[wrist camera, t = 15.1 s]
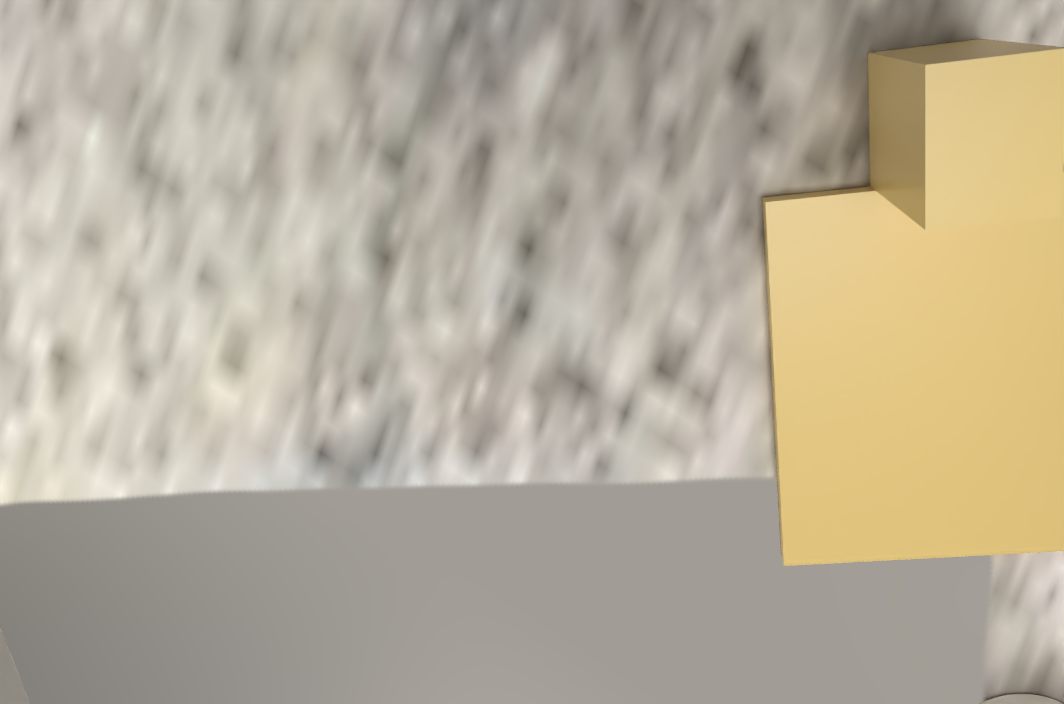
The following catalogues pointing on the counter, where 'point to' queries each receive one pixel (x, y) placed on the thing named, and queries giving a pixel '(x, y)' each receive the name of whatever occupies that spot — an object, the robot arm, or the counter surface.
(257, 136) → the counter surface
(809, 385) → the lid
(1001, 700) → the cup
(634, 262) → the counter surface
